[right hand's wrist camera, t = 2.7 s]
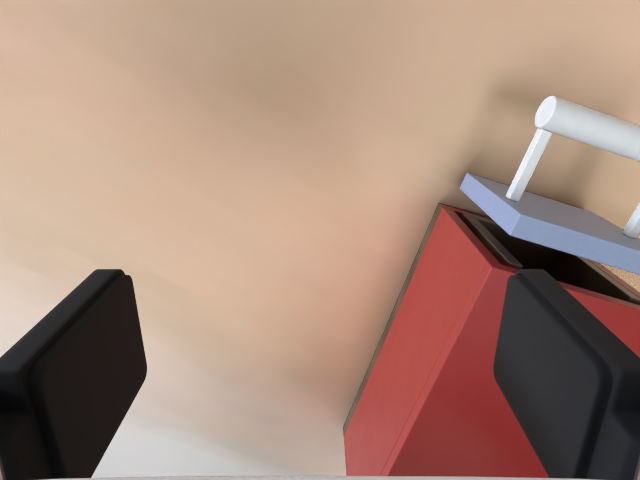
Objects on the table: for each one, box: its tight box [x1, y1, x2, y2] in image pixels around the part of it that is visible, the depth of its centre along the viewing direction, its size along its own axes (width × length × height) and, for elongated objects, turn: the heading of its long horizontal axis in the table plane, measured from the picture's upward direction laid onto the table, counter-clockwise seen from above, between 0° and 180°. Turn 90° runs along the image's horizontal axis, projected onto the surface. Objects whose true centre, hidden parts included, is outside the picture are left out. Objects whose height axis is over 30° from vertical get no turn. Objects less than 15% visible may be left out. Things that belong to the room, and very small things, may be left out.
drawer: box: [460, 96, 640, 305], centre depth 29 cm, size 26×9×9 cm, turn 163°
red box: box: [343, 203, 640, 478], centre depth 31 cm, size 21×11×10 cm, turn 163°
